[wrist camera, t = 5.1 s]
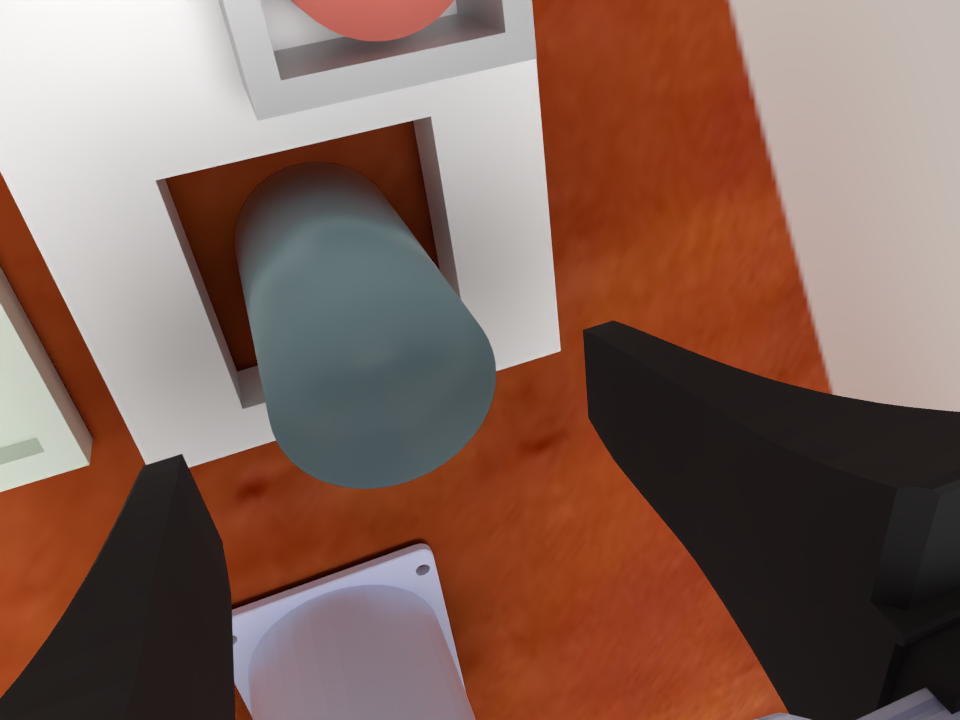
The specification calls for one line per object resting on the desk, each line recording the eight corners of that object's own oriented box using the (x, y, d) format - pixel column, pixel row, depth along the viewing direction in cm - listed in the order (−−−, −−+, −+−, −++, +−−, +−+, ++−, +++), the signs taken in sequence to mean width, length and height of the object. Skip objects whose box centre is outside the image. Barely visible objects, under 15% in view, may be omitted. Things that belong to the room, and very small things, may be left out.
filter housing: (534, 321, 25) (607, 404, 21) (153, 436, 22) (151, 557, 18) (472, -276, 16) (573, -332, 12) (-149, -201, 14) (-280, -242, 10)
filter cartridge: (409, 290, 23) (507, 448, 16) (261, 332, 22) (303, 517, 15) (379, 144, 20) (481, 261, 14) (211, 184, 19) (235, 330, 13)
